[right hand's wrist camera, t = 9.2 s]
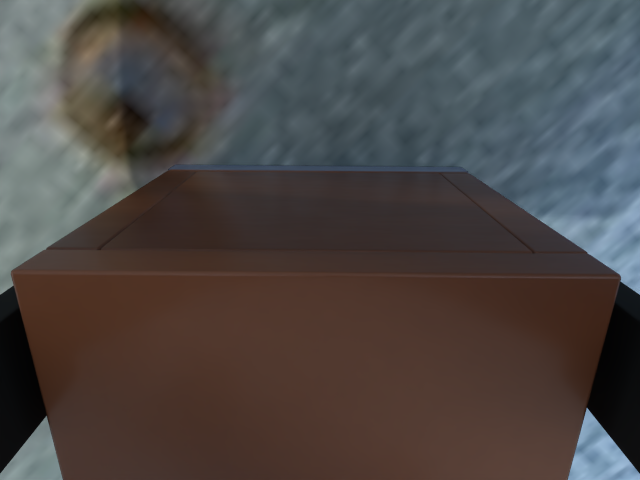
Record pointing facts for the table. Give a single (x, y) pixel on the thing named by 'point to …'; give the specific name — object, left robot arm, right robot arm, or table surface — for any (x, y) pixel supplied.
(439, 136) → the table surface
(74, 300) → the cabinet
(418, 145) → the table surface
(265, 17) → the table surface
